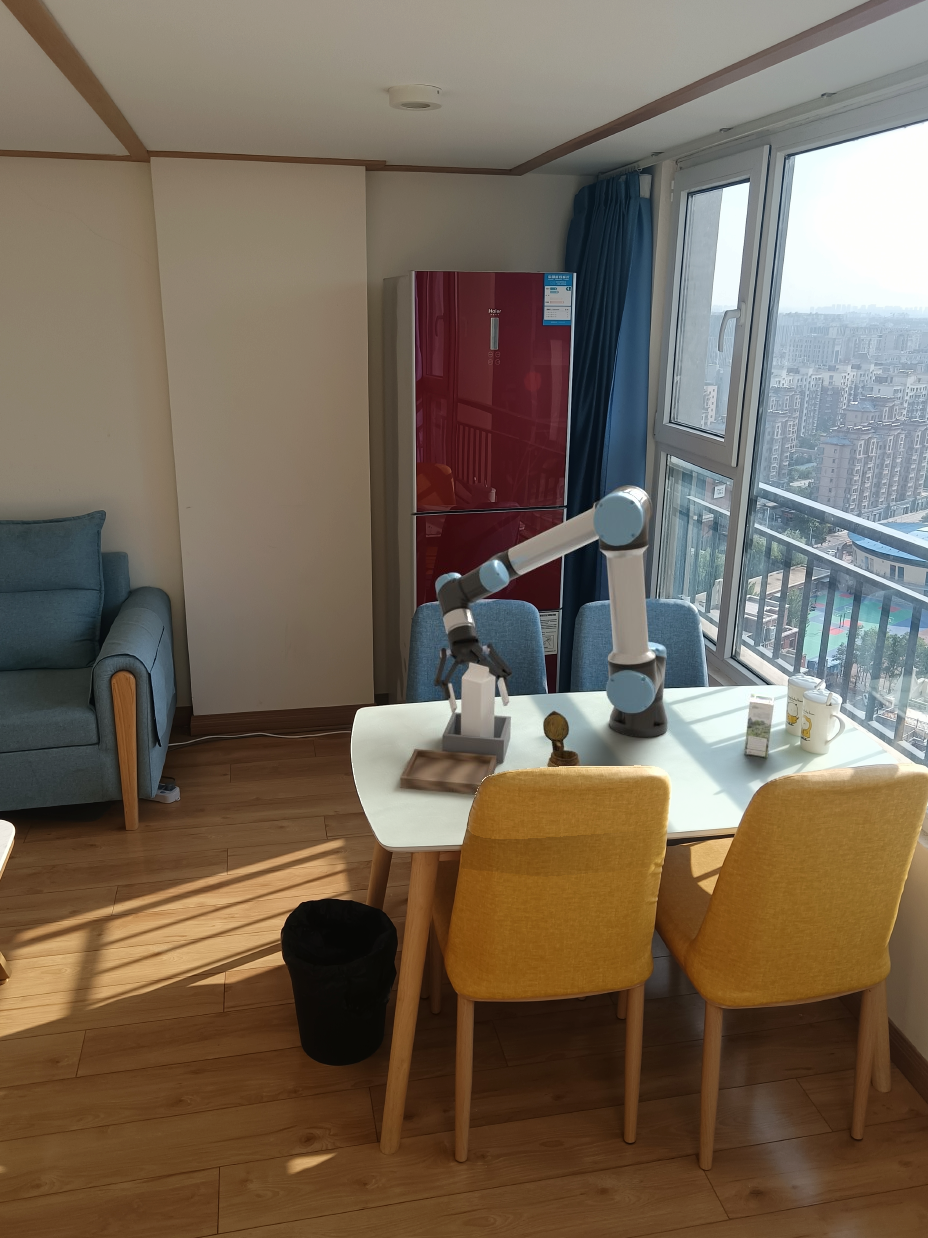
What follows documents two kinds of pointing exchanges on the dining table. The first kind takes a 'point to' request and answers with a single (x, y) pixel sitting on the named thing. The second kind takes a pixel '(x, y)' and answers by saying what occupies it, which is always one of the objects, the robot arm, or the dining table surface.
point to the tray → (447, 771)
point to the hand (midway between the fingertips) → (480, 707)
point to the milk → (477, 702)
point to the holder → (477, 738)
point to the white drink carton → (759, 725)
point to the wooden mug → (559, 741)
